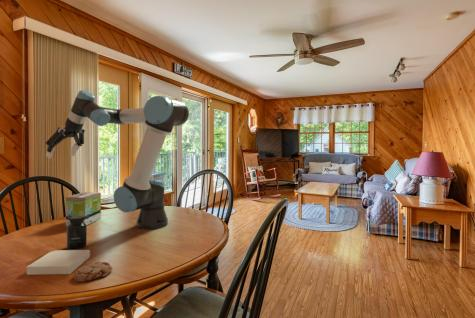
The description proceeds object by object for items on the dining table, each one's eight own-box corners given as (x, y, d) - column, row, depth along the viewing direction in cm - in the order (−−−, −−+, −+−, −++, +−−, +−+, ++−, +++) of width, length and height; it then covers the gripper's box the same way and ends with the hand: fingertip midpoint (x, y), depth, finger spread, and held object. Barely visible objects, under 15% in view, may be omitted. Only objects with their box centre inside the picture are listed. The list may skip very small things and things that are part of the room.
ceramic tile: (90, 256, 98) (89, 249, 98) (69, 273, 85) (69, 266, 85) (52, 257, 97) (52, 250, 97) (26, 274, 84) (26, 266, 84)
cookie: (66, 280, 81) (66, 270, 81) (95, 265, 91) (95, 257, 91) (91, 286, 78) (91, 276, 78) (118, 270, 88) (118, 261, 88)
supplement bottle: (72, 251, 102) (71, 220, 101) (63, 248, 105) (62, 217, 105) (90, 246, 108) (89, 216, 107) (81, 242, 111) (80, 214, 111)
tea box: (85, 227, 132) (84, 197, 131) (65, 226, 132) (64, 196, 131) (101, 218, 147) (101, 191, 146) (83, 218, 147) (82, 191, 146)
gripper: (90, 117, 147) (76, 150, 152) (46, 115, 123) (31, 153, 128) (100, 125, 145) (85, 157, 150) (58, 124, 121) (42, 162, 126)
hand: (60, 155), depth 139 cm, fingers open, 13 cm apart
